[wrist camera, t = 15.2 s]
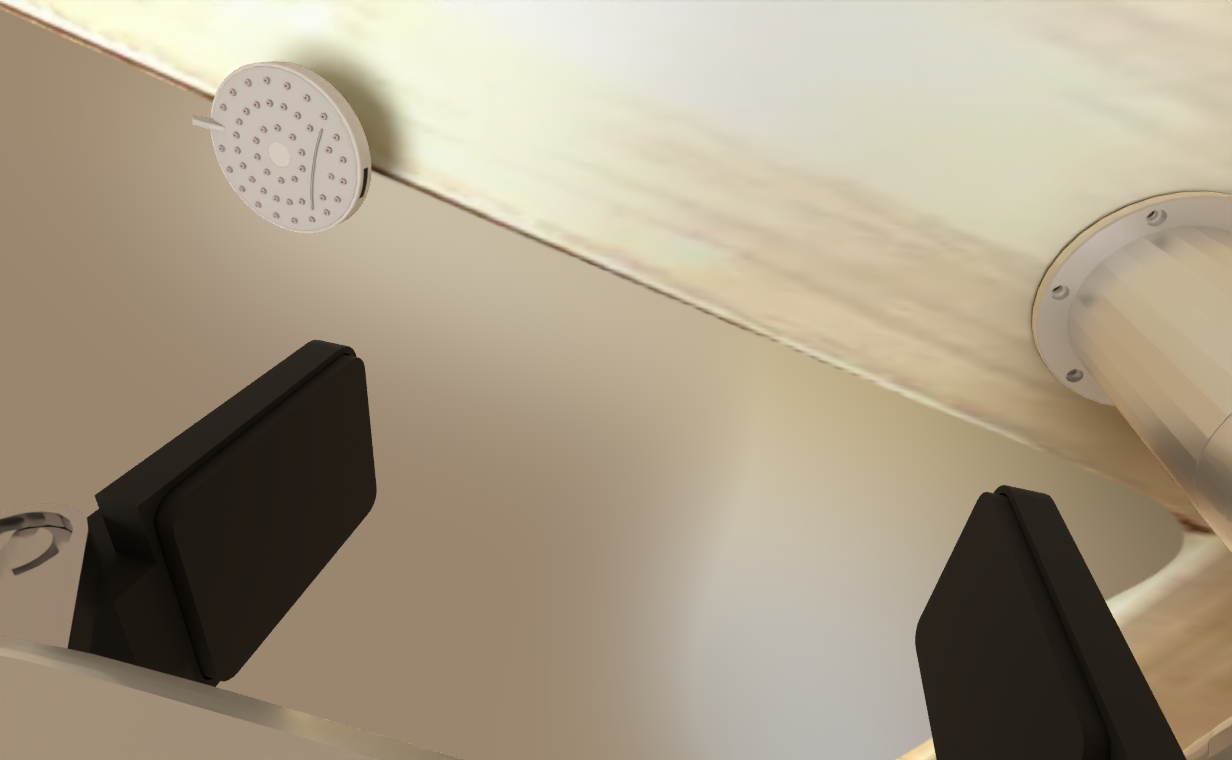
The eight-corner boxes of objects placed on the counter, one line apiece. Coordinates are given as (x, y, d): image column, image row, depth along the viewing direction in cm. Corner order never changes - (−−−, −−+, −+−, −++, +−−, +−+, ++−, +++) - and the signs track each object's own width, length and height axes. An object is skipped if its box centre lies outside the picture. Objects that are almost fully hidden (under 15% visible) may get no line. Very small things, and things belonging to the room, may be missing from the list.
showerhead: (187, 30, 36) (361, 107, 36) (276, 25, 42) (425, 90, 42) (186, 196, 41) (339, 263, 41) (265, 169, 47) (398, 228, 47)
